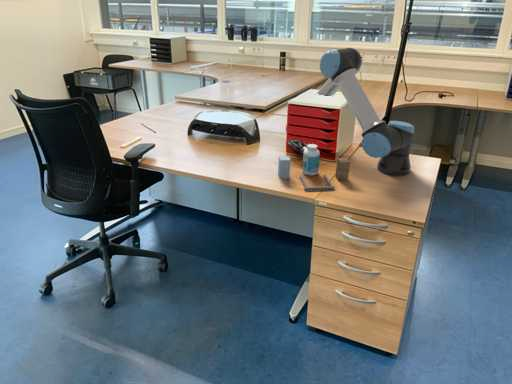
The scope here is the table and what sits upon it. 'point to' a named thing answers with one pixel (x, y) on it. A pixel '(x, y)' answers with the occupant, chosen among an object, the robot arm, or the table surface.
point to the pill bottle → (311, 160)
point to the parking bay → (317, 187)
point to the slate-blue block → (284, 167)
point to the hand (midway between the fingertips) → (307, 154)
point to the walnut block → (342, 169)
